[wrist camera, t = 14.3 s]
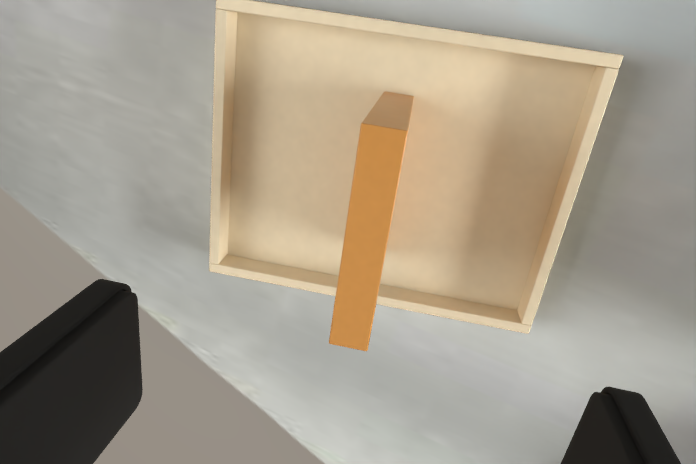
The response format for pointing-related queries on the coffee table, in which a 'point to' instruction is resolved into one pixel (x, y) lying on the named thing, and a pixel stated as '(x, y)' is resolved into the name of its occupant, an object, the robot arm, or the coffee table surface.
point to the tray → (418, 162)
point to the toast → (369, 218)
